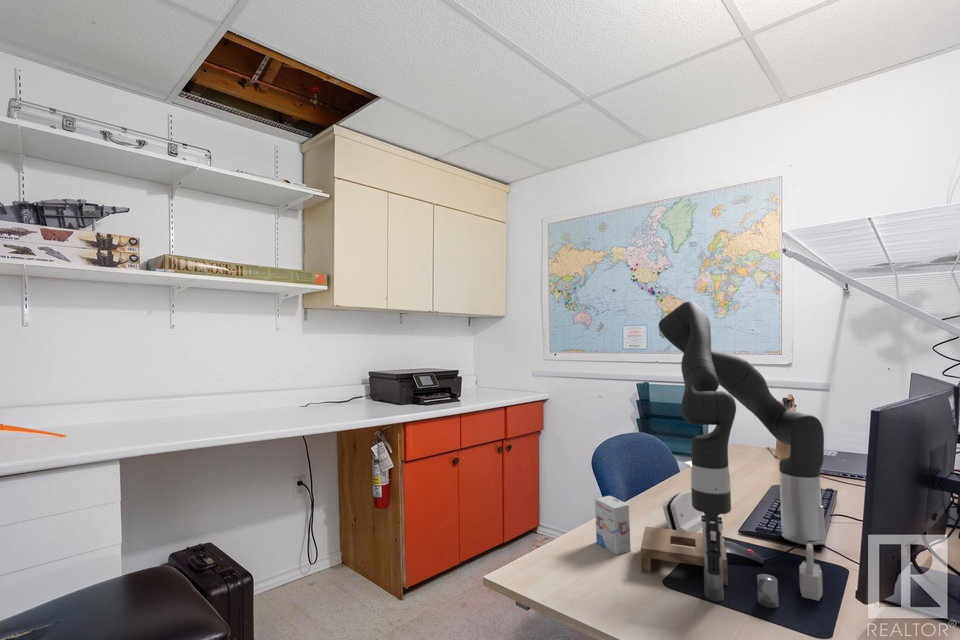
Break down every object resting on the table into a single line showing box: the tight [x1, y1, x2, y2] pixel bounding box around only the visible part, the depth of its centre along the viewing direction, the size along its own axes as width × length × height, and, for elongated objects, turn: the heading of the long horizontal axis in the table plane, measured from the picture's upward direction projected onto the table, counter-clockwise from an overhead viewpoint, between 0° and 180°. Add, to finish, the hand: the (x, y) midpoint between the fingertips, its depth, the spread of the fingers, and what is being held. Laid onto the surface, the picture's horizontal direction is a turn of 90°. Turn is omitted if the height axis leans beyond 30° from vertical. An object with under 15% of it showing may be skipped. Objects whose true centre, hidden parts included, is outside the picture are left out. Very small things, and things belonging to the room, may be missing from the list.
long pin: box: [703, 535, 725, 602], centre depth 105 cm, size 4×4×12 cm
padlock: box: [798, 543, 824, 602], centre depth 106 cm, size 7×4×10 cm, turn 144°
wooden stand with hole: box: [640, 526, 729, 586], centre depth 119 cm, size 18×14×6 cm
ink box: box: [594, 495, 632, 555], centre depth 130 cm, size 9×5×12 cm, turn 23°
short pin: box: [756, 573, 779, 609], centre depth 102 cm, size 4×4×5 cm
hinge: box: [662, 491, 705, 533], centre depth 143 cm, size 17×5×10 cm, turn 133°
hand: (713, 568), depth 105 cm, fingers open, 4 cm apart
